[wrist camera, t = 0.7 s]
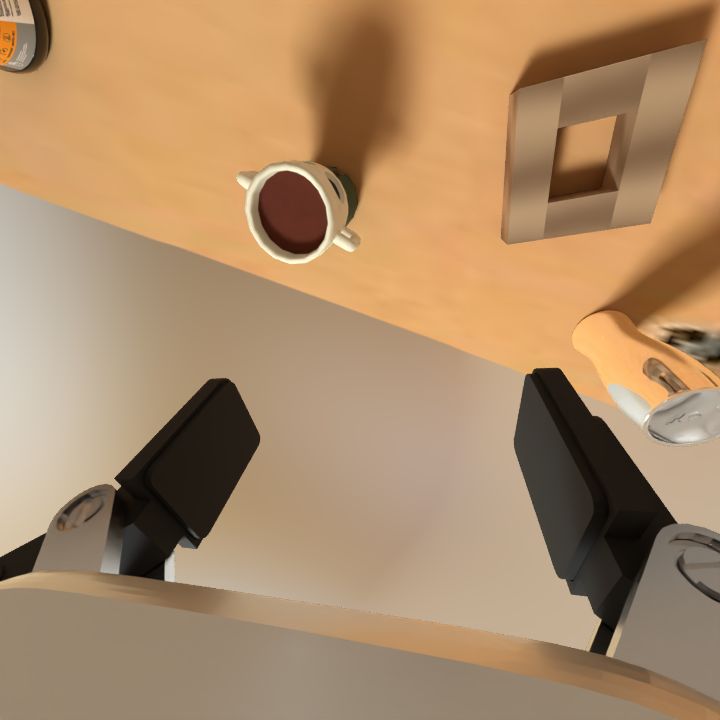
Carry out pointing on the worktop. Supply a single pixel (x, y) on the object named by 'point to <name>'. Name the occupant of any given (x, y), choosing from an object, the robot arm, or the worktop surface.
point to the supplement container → (22, 36)
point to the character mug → (299, 209)
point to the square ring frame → (627, 151)
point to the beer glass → (652, 381)
